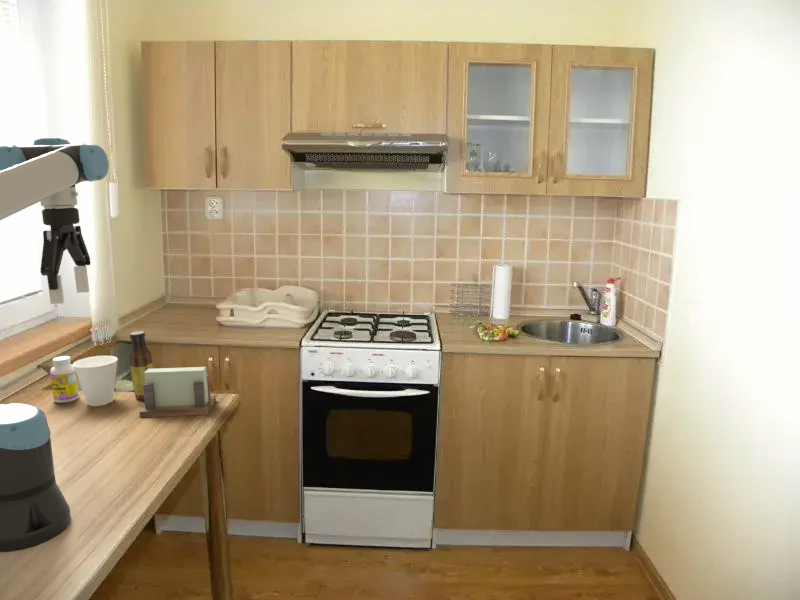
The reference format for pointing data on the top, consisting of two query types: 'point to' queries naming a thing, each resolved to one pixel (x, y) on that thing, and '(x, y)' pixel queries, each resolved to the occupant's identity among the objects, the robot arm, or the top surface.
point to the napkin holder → (196, 409)
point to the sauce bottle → (139, 362)
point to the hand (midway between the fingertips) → (70, 297)
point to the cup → (97, 378)
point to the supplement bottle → (63, 380)
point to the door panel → (176, 385)
